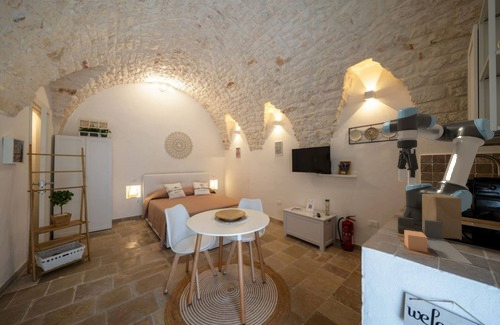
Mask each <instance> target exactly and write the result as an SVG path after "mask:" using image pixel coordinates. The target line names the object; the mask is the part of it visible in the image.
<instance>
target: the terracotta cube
mask: <svg viewBox="0 0 500 325" xmlns="http://www.w3.org/2000/svg"><path fill="white" fill-rule="evenodd" d="M404 236H405V245H406V246H407V248H408V249H411V250H416V251H422V252H427V249H428V243H427V237H426V236H425V235H424V234H423V231H416V230H414V231H409V230H404Z"/></svg>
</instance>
